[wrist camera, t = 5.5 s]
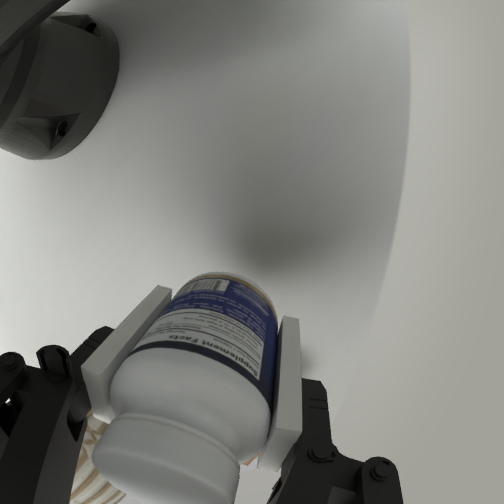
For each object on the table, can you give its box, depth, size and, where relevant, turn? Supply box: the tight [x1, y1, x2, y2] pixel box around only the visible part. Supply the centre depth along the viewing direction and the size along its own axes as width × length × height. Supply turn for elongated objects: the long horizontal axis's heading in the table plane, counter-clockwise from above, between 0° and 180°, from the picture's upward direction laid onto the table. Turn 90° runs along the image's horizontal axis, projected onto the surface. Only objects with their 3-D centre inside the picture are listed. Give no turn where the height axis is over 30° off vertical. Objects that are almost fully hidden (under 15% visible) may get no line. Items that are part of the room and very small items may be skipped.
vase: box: [69, 409, 127, 504], centre depth 22 cm, size 16×16×20 cm
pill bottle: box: [92, 272, 278, 504], centre depth 10 cm, size 5×5×10 cm
